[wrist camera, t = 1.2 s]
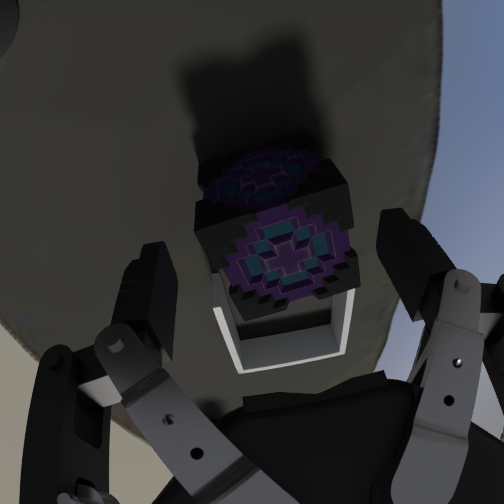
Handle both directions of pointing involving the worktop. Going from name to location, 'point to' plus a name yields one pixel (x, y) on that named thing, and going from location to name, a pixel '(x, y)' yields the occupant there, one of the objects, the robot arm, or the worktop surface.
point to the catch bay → (283, 336)
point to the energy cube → (277, 224)
